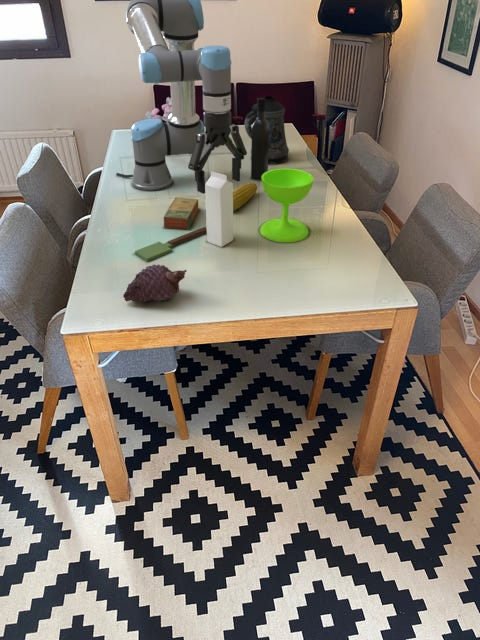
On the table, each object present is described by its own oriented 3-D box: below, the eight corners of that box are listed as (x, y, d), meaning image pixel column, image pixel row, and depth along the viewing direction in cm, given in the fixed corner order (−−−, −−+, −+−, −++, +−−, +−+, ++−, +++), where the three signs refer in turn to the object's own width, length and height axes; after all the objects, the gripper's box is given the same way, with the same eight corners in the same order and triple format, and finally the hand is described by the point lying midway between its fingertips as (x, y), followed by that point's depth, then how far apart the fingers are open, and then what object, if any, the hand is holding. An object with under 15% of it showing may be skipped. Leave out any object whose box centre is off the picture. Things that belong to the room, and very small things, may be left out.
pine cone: (130, 316, 130) (113, 280, 128) (132, 312, 139) (117, 278, 138) (195, 289, 131) (179, 253, 129) (192, 287, 141) (178, 253, 139)
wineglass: (275, 246, 160) (278, 191, 149) (251, 226, 171) (252, 173, 160) (318, 235, 166) (323, 181, 155) (292, 216, 177) (295, 165, 166)
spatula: (147, 261, 152) (146, 257, 151) (135, 253, 156) (134, 249, 155) (212, 234, 166) (212, 230, 165) (200, 228, 170) (200, 224, 169)
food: (236, 215, 178) (236, 198, 174) (221, 212, 180) (221, 195, 176) (260, 193, 193) (260, 177, 190) (246, 190, 195) (246, 175, 192)
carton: (199, 209, 181) (198, 198, 179) (188, 230, 169) (187, 218, 166) (176, 208, 182) (175, 196, 180) (163, 228, 170) (162, 216, 167)
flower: (157, 132, 249) (140, 87, 228) (202, 129, 246) (190, 83, 224) (150, 162, 240) (132, 119, 218) (197, 160, 236) (183, 116, 214)
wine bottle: (250, 179, 205) (251, 99, 187) (255, 174, 209) (256, 95, 191) (263, 181, 203) (265, 100, 185) (268, 176, 207) (271, 97, 190)
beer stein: (294, 156, 227) (298, 96, 212) (273, 169, 213) (275, 106, 199) (262, 149, 234) (264, 90, 219) (239, 162, 221) (239, 100, 206)
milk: (218, 235, 166) (217, 167, 153) (233, 240, 163) (233, 172, 150) (206, 242, 162) (204, 173, 149) (221, 247, 159) (220, 178, 146)
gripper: (189, 122, 130) (194, 201, 143) (259, 105, 144) (258, 179, 156) (171, 116, 135) (177, 193, 147) (241, 100, 148) (241, 172, 161)
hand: (219, 186), depth 152 cm, fingers open, 13 cm apart
